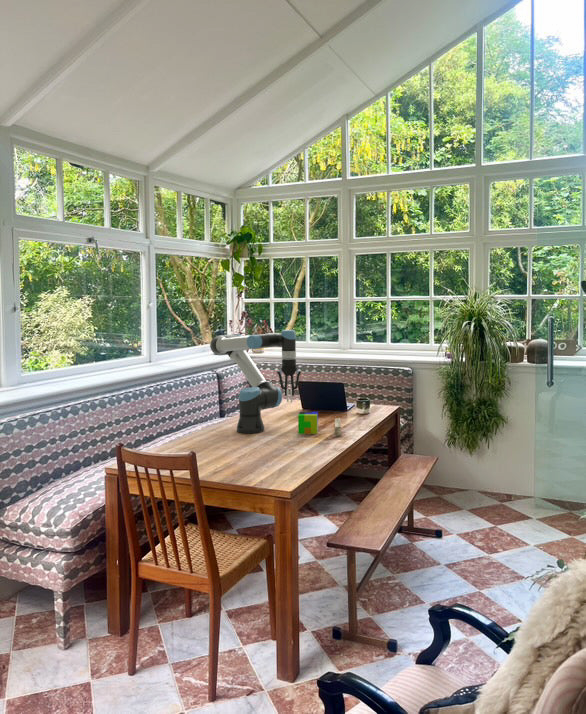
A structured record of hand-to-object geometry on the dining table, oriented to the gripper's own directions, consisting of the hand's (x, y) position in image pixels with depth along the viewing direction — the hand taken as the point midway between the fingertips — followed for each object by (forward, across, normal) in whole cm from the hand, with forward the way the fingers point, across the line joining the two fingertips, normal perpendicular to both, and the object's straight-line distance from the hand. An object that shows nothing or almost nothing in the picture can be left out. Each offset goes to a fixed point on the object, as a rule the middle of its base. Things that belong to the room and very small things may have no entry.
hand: (289, 401), depth 338 cm
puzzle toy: (+17, +10, 0) cm, 20 cm away
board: (+16, +26, 0) cm, 31 cm away
